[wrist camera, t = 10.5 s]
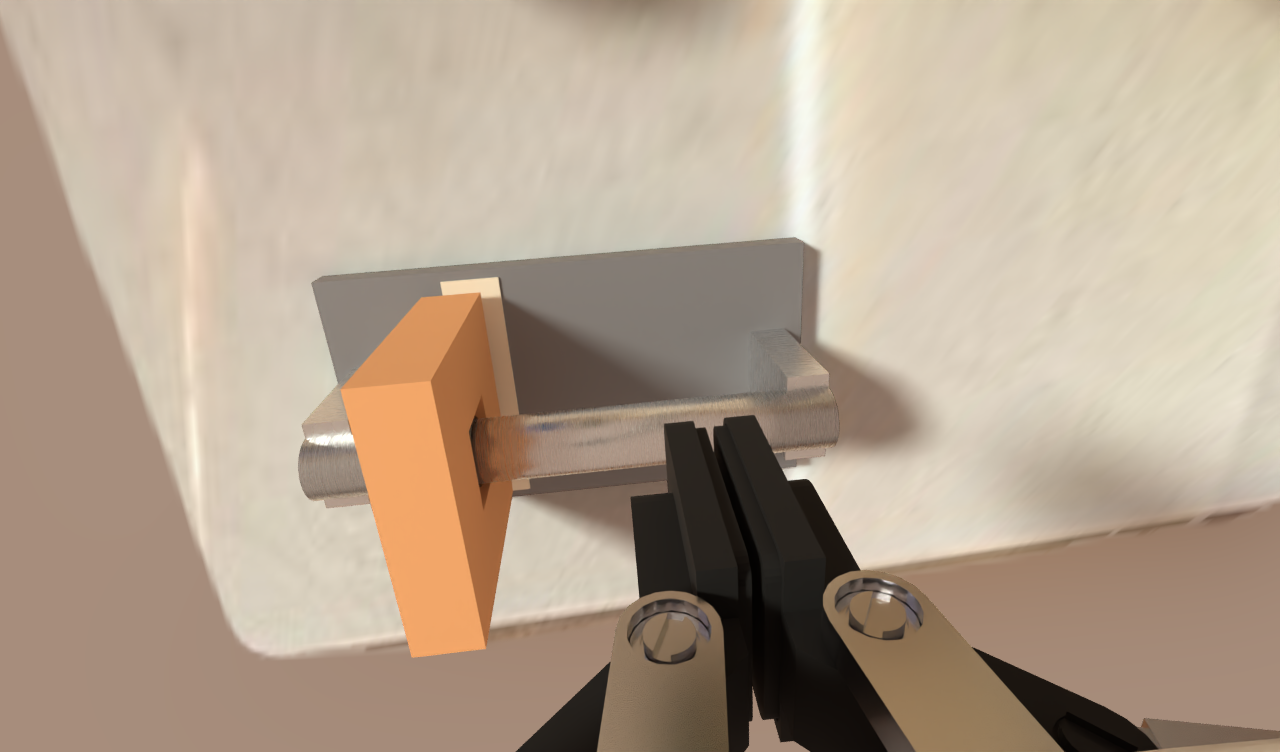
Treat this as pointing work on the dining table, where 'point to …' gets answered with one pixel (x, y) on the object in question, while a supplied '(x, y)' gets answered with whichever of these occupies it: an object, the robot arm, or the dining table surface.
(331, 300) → the base board
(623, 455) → the pipe
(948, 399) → the dining table surface
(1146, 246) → the dining table surface
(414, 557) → the collar
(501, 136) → the dining table surface
